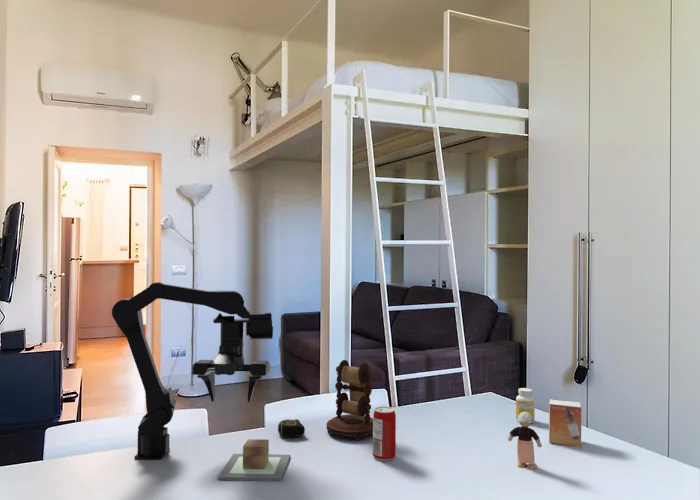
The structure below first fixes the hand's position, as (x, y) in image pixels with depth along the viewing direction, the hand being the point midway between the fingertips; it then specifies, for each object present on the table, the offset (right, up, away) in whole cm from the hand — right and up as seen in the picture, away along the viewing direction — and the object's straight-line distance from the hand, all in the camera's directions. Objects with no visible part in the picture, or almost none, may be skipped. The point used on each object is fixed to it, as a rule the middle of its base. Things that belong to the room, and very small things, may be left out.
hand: (231, 401), depth 134 cm
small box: (+88, -13, +7) cm, 89 cm away
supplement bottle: (+83, -13, +25) cm, 88 cm away
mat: (+9, -12, -12) cm, 19 cm away
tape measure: (+15, -13, +11) cm, 22 cm away
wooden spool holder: (+31, -13, +13) cm, 36 cm away
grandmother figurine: (+72, -13, -10) cm, 73 cm away
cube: (+9, -11, -12) cm, 19 cm away
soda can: (+39, -12, -5) cm, 41 cm away
